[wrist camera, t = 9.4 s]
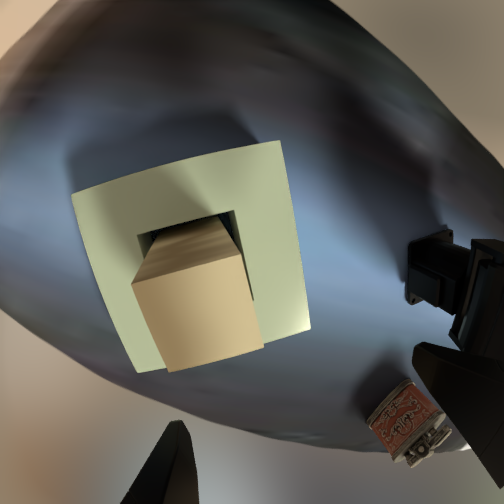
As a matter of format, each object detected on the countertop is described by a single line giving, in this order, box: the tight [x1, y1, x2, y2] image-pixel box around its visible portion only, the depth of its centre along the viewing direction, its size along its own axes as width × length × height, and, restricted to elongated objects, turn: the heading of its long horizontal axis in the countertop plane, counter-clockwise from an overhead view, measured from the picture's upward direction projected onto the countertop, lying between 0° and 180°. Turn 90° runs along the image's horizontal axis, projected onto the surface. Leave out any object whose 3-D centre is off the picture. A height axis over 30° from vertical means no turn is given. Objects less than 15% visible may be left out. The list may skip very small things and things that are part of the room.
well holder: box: [71, 140, 311, 373], centre depth 18 cm, size 12×12×4 cm
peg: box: [131, 215, 264, 372], centre depth 15 cm, size 4×4×10 cm
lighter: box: [367, 379, 451, 468], centre depth 25 cm, size 8×3×10 cm, turn 145°
